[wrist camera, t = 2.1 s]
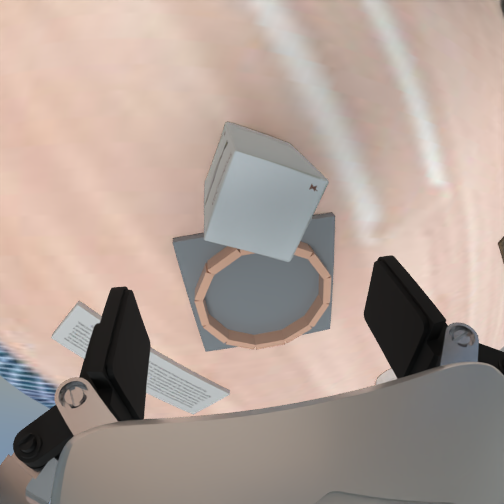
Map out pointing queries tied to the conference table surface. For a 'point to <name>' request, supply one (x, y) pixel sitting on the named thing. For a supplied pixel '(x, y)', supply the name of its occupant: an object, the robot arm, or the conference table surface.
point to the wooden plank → (502, 247)
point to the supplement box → (259, 194)
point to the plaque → (159, 370)
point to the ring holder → (259, 289)
